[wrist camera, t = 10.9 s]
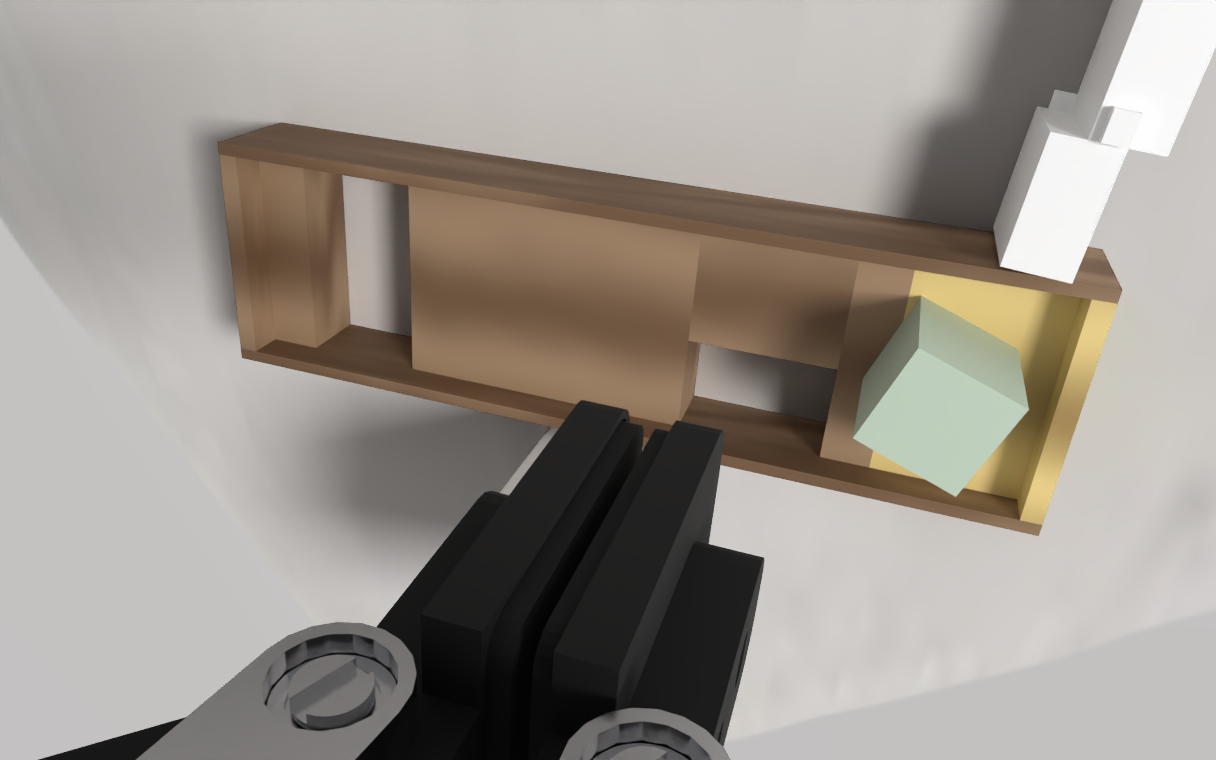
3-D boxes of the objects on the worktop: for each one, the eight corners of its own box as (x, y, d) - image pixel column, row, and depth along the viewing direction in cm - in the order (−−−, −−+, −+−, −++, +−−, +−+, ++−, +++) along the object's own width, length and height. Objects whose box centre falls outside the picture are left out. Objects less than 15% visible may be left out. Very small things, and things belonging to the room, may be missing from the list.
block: (921, 295, 35) (918, 347, 31) (1018, 349, 35) (1028, 409, 31) (862, 378, 37) (852, 438, 33) (954, 429, 37) (955, 496, 33)
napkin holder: (1202, -218, 30) (1254, -245, 25) (1396, 74, 31) (1481, 104, 26) (810, 100, 37) (790, 128, 32) (982, 323, 39) (989, 383, 34)
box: (281, 122, 44) (217, 142, 40) (1102, 249, 35) (1122, 289, 32) (298, 322, 48) (242, 358, 44) (1028, 476, 40) (1038, 535, 36)
